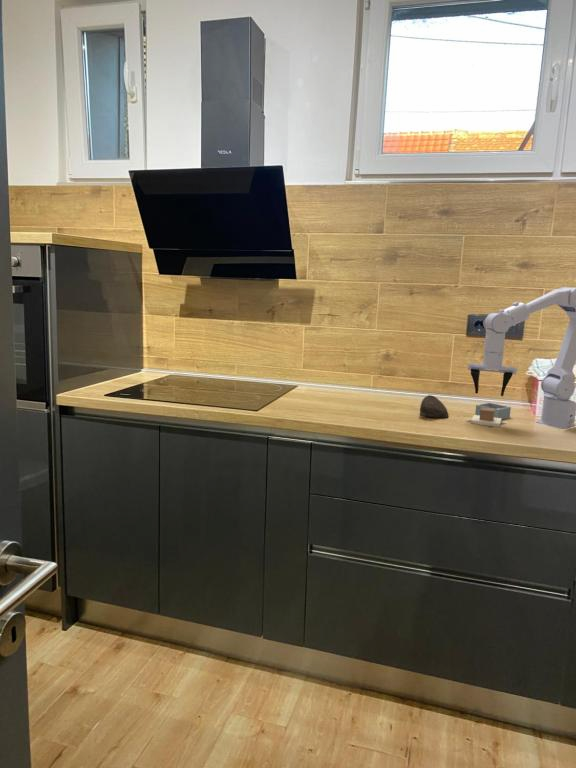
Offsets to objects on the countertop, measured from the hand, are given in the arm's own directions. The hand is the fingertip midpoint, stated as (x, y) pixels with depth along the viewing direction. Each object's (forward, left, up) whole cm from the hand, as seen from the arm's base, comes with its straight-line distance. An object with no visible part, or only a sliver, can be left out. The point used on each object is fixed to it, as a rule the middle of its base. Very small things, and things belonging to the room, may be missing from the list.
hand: (489, 394), depth 180 cm
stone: (+15, +8, -10) cm, 20 cm away
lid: (0, 0, -9) cm, 9 cm away
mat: (0, 0, -10) cm, 10 cm away
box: (+4, -9, -10) cm, 14 cm away
